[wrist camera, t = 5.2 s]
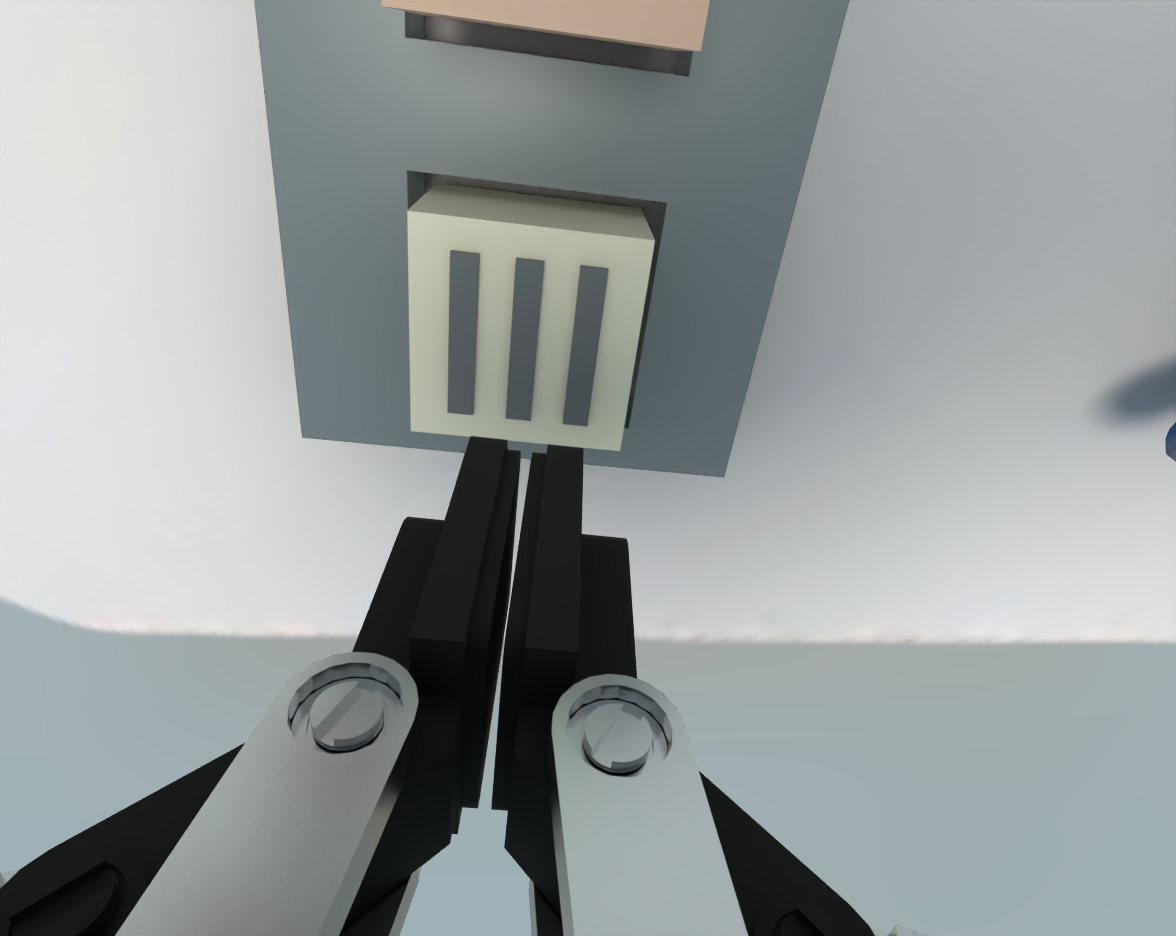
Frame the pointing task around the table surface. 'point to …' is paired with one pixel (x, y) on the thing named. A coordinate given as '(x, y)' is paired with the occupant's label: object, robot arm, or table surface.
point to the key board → (544, 159)
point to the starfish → (1171, 442)
